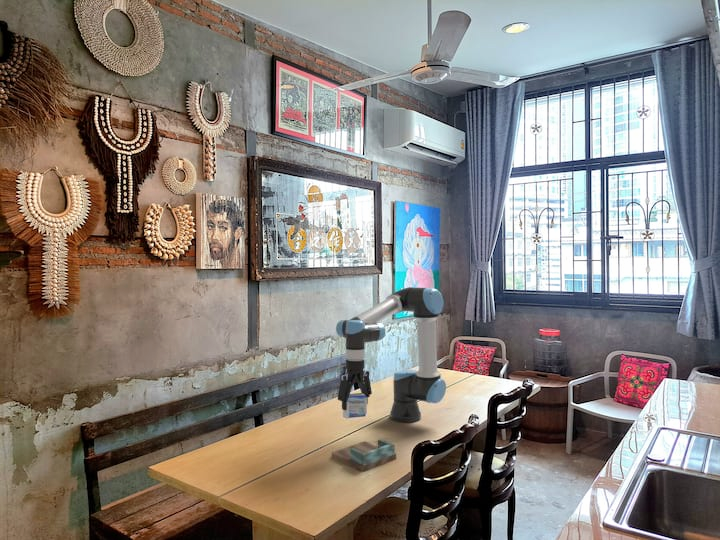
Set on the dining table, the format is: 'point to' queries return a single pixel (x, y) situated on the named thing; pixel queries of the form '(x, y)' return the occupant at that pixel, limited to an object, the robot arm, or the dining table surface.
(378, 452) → the dock
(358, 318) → the robot arm
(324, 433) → the dining table surface
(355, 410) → the medicine box
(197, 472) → the dining table surface
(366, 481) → the dining table surface
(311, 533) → the dining table surface
